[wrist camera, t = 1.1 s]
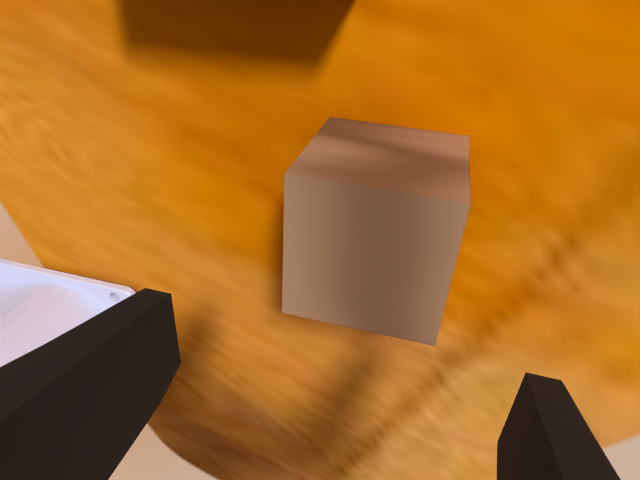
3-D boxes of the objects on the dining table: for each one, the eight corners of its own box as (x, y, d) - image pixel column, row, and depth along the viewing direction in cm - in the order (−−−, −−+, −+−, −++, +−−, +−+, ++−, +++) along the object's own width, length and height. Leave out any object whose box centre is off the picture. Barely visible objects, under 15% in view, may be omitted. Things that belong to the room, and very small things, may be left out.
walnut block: (322, 232, 19) (282, 312, 15) (330, 116, 16) (284, 173, 12) (441, 253, 18) (434, 345, 14) (468, 135, 15) (470, 203, 11)
